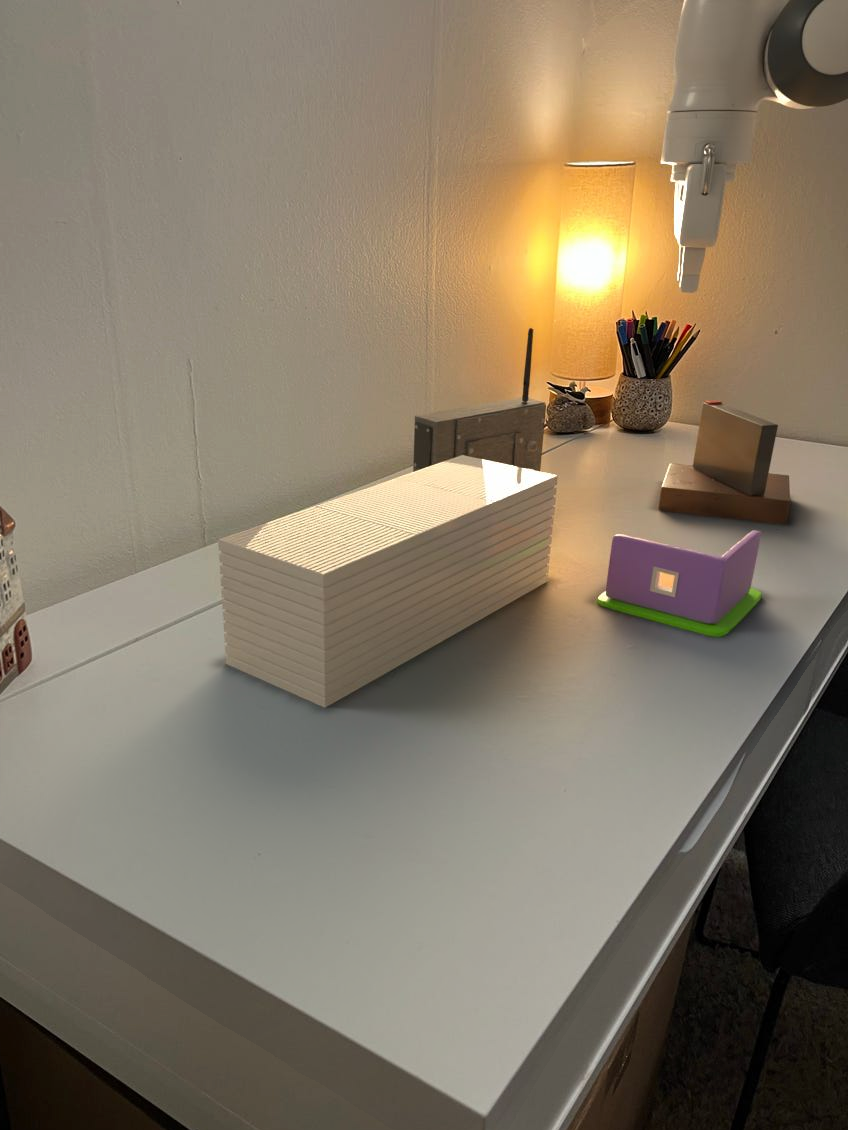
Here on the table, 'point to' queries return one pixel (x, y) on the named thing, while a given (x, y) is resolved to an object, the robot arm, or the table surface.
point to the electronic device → (485, 430)
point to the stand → (723, 496)
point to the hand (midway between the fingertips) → (686, 287)
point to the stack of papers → (382, 573)
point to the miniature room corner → (682, 583)
